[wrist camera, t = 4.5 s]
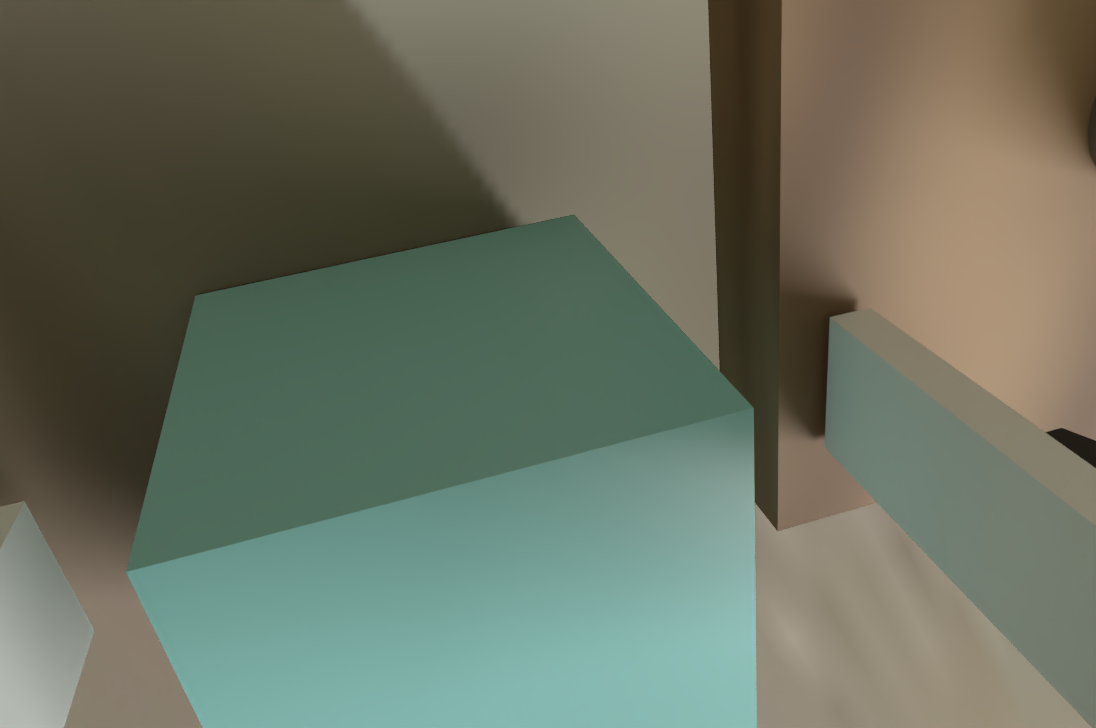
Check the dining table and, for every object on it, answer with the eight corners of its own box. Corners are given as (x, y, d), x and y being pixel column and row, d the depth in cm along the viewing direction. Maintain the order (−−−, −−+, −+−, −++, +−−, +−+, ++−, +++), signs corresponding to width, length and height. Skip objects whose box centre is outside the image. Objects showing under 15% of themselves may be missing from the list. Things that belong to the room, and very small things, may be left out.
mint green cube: (301, 586, 18) (306, 937, 12) (195, 296, 14) (125, 571, 8) (607, 503, 19) (756, 783, 13) (573, 214, 15) (753, 407, 9)
